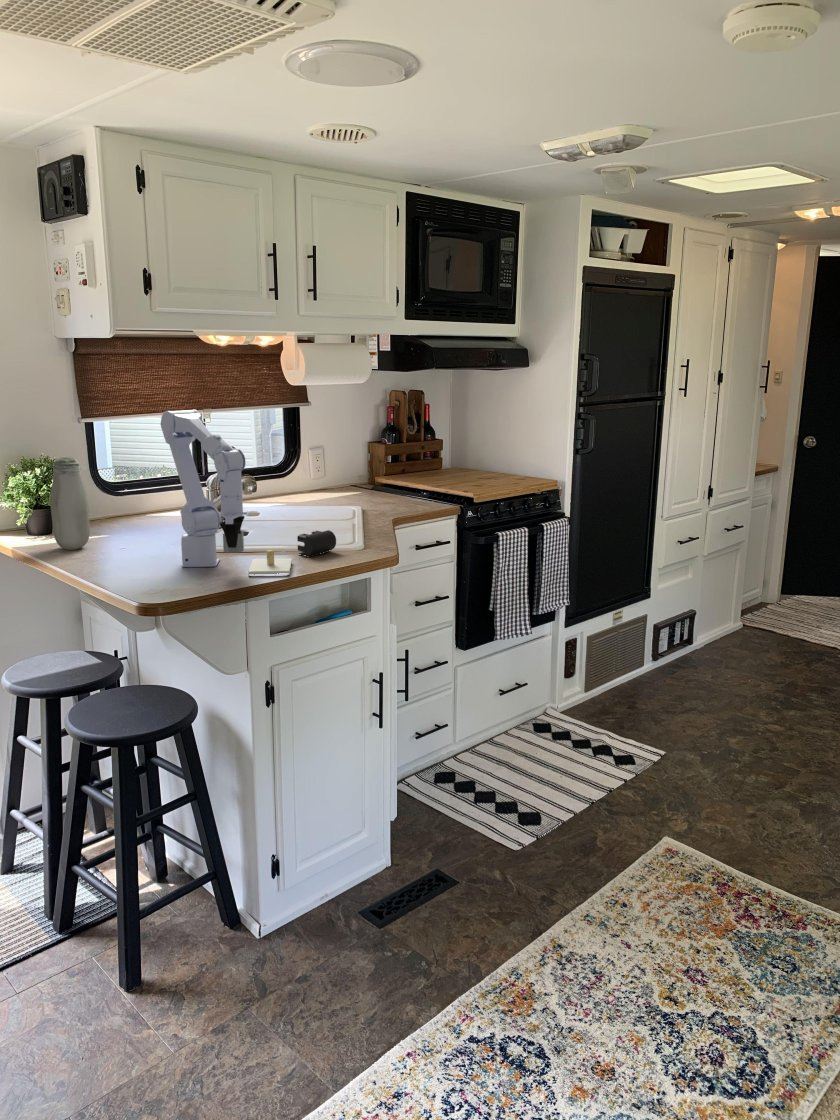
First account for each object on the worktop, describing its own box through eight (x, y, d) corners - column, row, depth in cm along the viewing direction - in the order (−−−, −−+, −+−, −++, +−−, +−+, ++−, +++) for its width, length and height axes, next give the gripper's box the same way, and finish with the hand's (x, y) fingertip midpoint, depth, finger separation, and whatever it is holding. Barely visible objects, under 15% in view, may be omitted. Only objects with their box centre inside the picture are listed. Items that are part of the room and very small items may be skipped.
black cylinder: (313, 559, 250) (313, 536, 249) (296, 555, 254) (296, 533, 253) (336, 553, 258) (336, 531, 256) (320, 549, 262) (319, 528, 260)
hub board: (248, 576, 230) (247, 557, 229) (253, 564, 244) (252, 545, 242) (289, 576, 231) (289, 556, 230) (291, 563, 245) (291, 544, 243)
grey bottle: (78, 553, 253) (70, 460, 247) (48, 551, 256) (39, 458, 249) (98, 546, 263) (90, 455, 256) (68, 544, 265) (60, 454, 258)
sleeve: (222, 552, 228) (222, 534, 227) (225, 548, 233) (224, 530, 232) (242, 552, 229) (241, 534, 228) (244, 548, 234) (243, 530, 233)
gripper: (243, 500, 221) (245, 551, 224) (249, 490, 235) (250, 538, 238) (216, 500, 220) (218, 551, 223) (223, 491, 234) (225, 539, 237)
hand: (233, 544), depth 231 cm, fingers closed on sleeve, 5 cm apart
